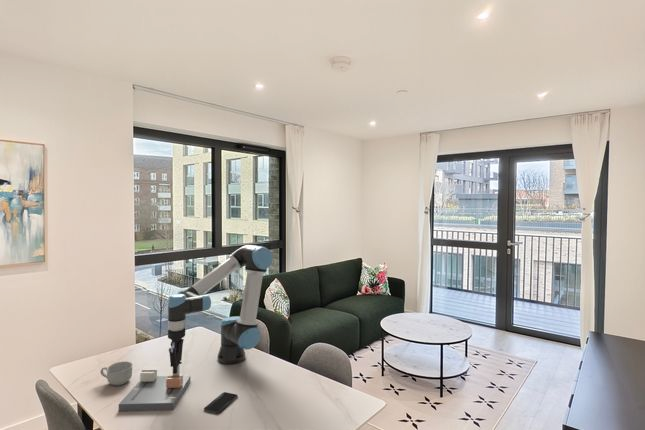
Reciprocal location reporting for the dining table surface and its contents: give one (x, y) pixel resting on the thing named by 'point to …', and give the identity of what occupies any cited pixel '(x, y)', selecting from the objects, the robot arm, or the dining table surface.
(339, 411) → the dining table surface
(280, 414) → the dining table surface
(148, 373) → the block
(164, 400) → the console
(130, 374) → the teacup
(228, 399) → the phone
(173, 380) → the fader terracotta
